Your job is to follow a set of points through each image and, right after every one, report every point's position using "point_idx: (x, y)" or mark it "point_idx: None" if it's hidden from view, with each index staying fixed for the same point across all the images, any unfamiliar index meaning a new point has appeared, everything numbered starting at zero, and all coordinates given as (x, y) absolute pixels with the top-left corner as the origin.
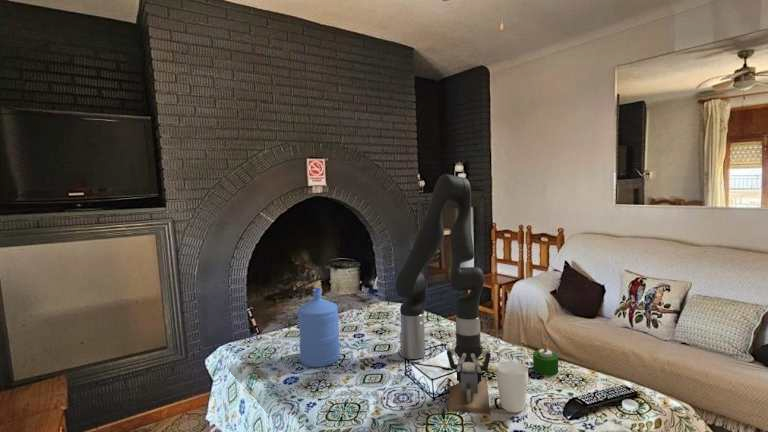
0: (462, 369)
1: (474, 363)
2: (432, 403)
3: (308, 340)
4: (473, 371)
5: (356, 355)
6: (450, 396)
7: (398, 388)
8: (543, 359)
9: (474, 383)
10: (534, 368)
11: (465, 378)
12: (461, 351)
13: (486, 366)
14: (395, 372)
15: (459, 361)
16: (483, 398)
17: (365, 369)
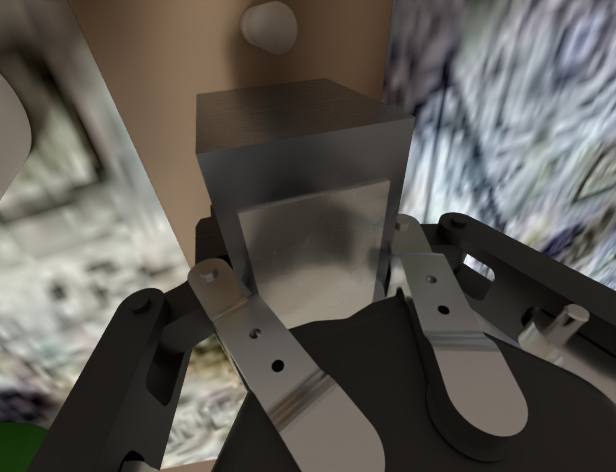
0: (383, 215)
1: (273, 319)
2: (465, 6)
3: None
4: (264, 215)
5: (590, 264)
6: (375, 78)
7: (565, 122)
8: None
9: (229, 111)
10: (27, 437)
11: (336, 110)
12: (535, 432)
13: (117, 341)
14: (529, 226)
15: (451, 281)
16: (161, 112)
17: (605, 209)
